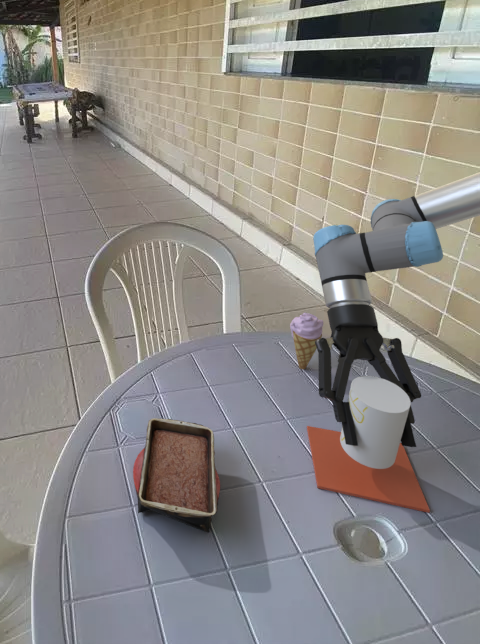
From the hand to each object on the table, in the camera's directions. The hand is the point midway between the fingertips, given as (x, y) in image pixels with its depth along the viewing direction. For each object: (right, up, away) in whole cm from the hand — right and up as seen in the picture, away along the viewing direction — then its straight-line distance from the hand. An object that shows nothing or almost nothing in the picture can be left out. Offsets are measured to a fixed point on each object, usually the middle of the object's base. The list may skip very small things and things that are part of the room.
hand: (380, 445), depth 69 cm
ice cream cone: (+2, +2, +30) cm, 31 cm away
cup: (0, -3, +4) cm, 5 cm away
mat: (+1, -7, +6) cm, 9 cm away
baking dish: (-33, -10, +4) cm, 34 cm away
